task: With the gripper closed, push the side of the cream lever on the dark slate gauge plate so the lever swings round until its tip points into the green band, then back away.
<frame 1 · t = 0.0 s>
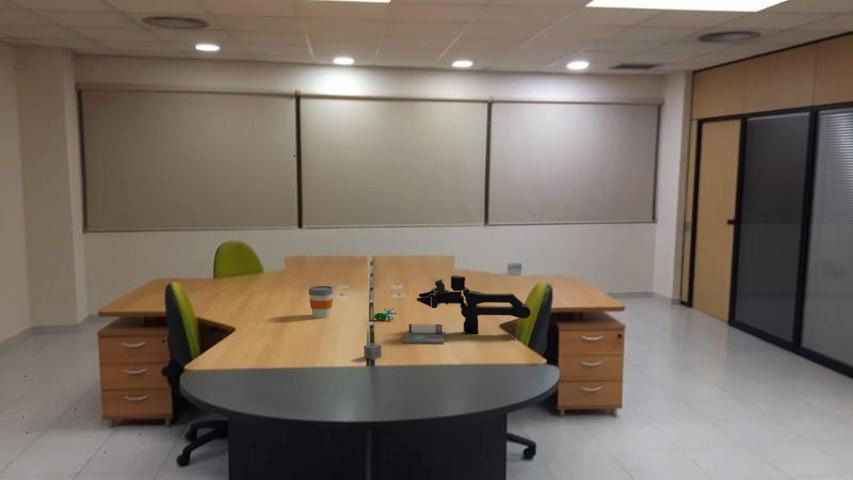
hand: (417, 297, 299), 17 cm above the table, tool horizontal, fingers open, 9 cm apart
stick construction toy: (385, 321, 322), on the table
reusable coffee cup: (321, 316, 333), on the table
gauge plate: (424, 338, 289), on the table
tuner lever: (425, 328, 293), point 3 cm above the table, hinge at 0.0°
dice cube: (372, 357, 262), on the table
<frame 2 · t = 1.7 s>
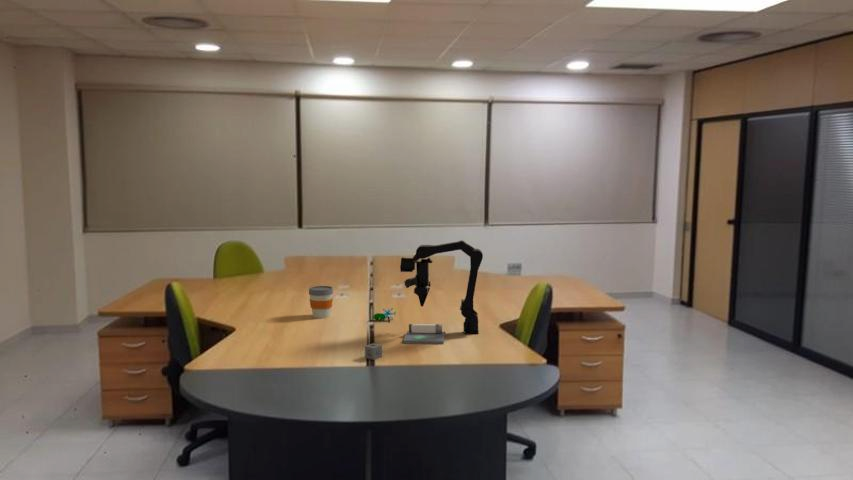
hand: (422, 304, 299), 13 cm above the table, tool pointing down, fingers open, 6 cm apart
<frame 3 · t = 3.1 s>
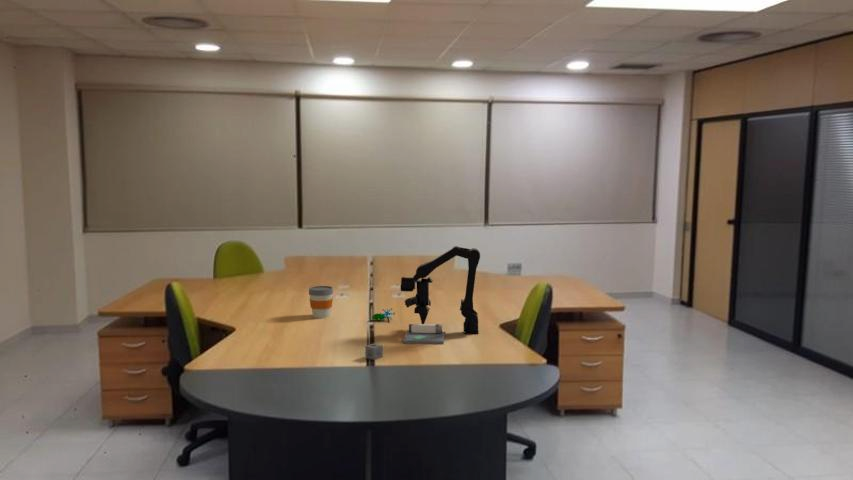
hand: (423, 324, 300), 4 cm above the table, tool pointing down, fingers closed
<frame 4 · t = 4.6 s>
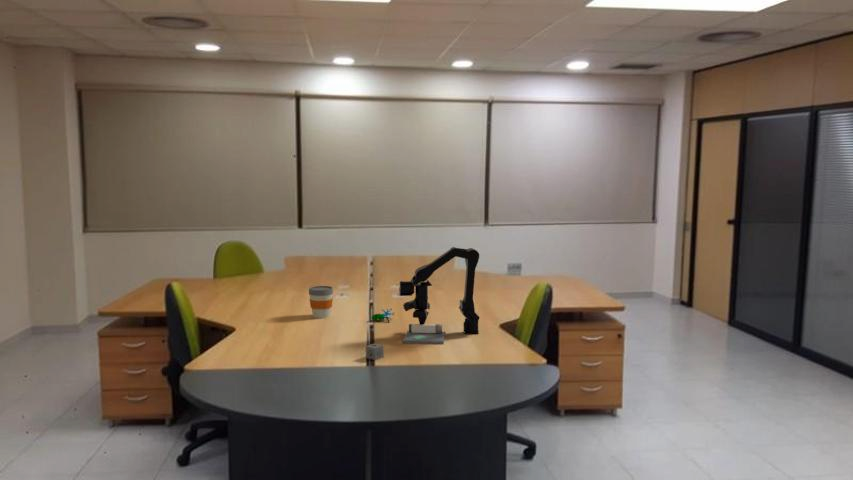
hand: (421, 328, 295), 3 cm above the table, tool pointing down, fingers closed
tuner lever: (425, 328, 293), point 3 cm above the table, hinge at 0.4°, touching gripper
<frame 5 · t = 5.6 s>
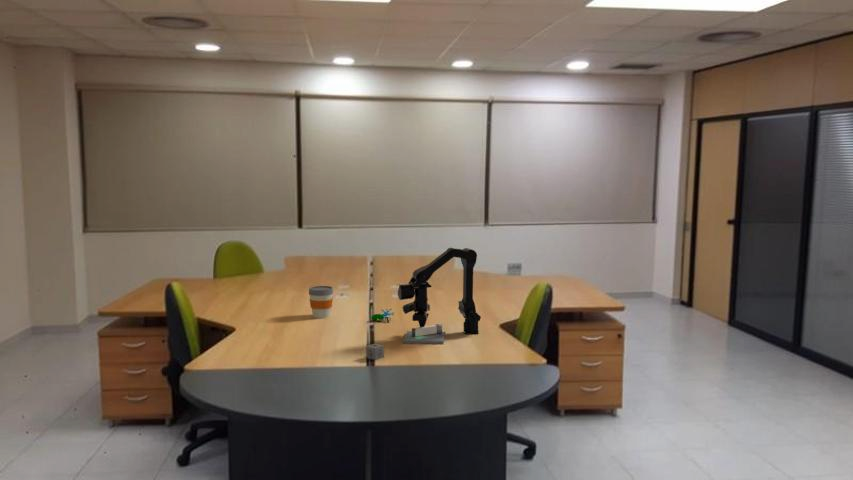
hand: (422, 330, 291), 3 cm above the table, tool pointing down, fingers closed
tuner lever: (427, 330, 290), point 3 cm above the table, hinge at 33.5°, touching gripper
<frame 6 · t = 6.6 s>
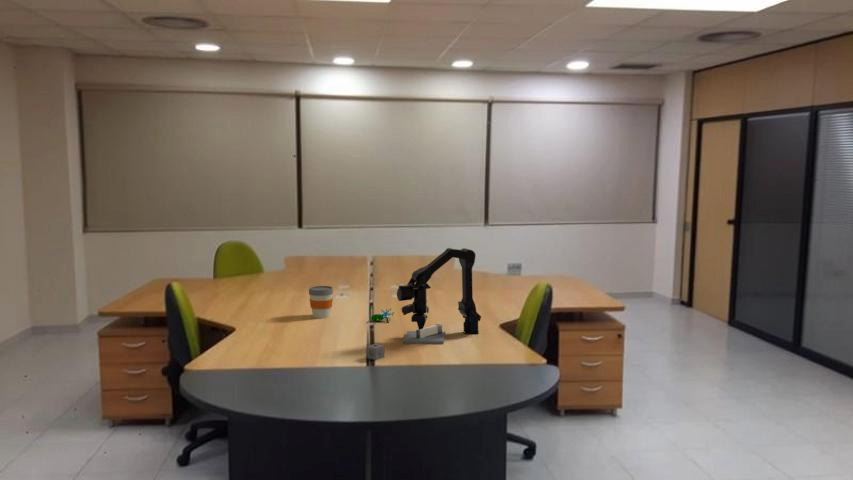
hand: (420, 332, 288), 3 cm above the table, tool pointing down, fingers closed
tuner lever: (429, 331, 289), point 3 cm above the table, hinge at 48.8°, touching gripper
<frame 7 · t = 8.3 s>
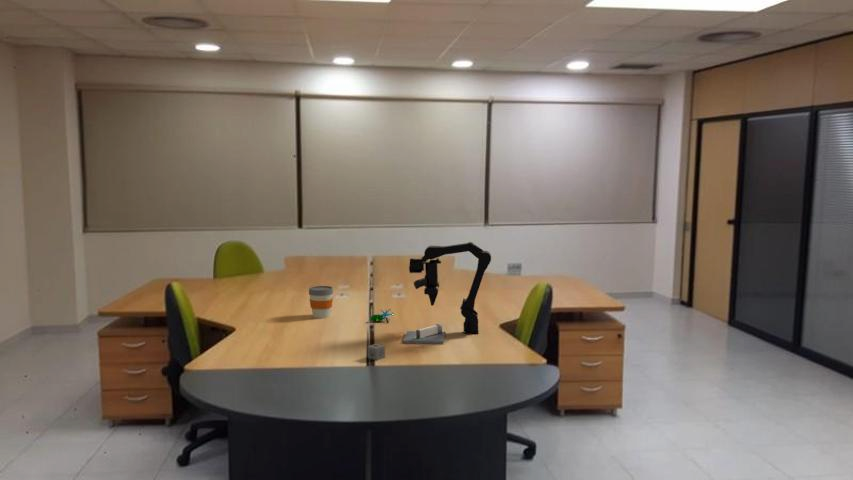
hand: (432, 305, 299), 13 cm above the table, tool pointing down, fingers closed
tuner lever: (429, 331, 289), point 3 cm above the table, hinge at 49.1°
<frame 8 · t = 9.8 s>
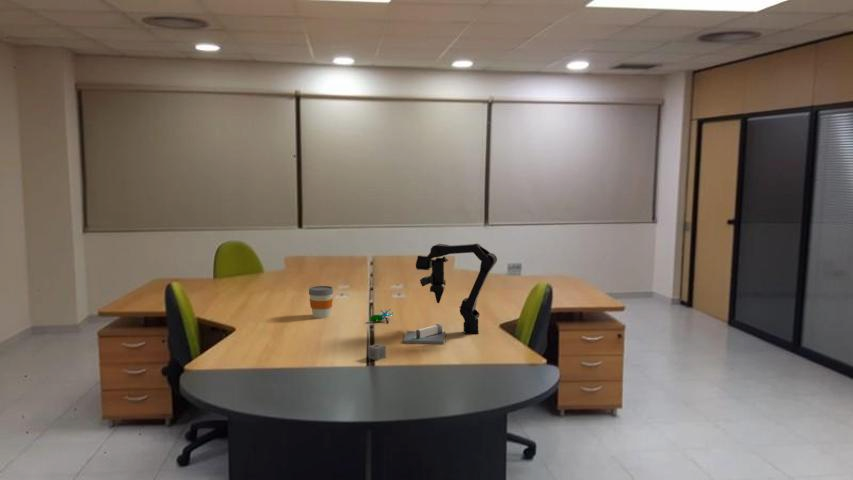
hand: (438, 303, 303), 13 cm above the table, tool pointing down, fingers closed
at the end: tuner lever at +49° (first picture: +0°); the gripper is holding nothing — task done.
